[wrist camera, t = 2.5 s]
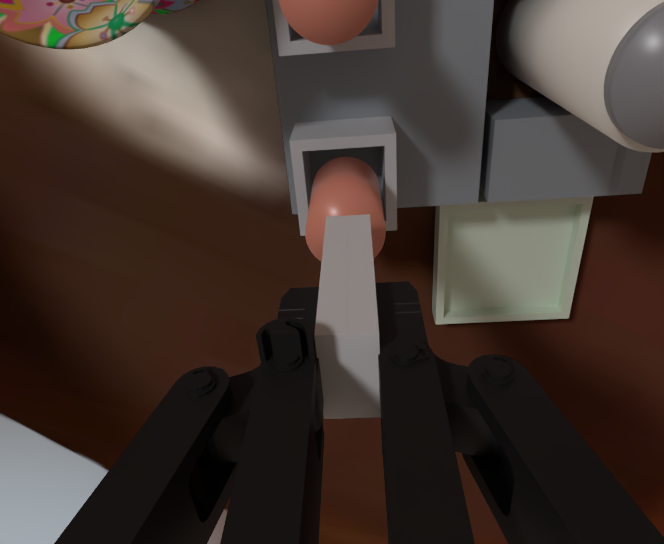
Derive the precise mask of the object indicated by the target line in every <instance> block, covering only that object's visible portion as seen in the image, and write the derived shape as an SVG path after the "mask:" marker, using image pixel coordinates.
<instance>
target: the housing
mask: <svg viewBox="0 0 664 544" xmlns="http://www.w3.org/2000/svg"><path fill="white" fill-rule="evenodd" d="M265 2H266V9H267V17H268V25H269V33H270V41H271V49H272V57H273V65H274V72H275V80H276V88H277V96H278V104H279V112H280V120H281V128H282V135H283V143H284V151H285V159H286V167H287V175H288V183H289V191H290V198H291V206H292V214H298V217H299V225H300V234H301V236H305V230H306V223H307V217H308V210H309V204H310V198H311V191H312V185H313V180H314V177H315V175H316V173H317V171H318V170H319V169H320V168H321V167H322V166H323V165H324V164H325V163H327V162H328V161H330V160H332V159H335V158H339V157H353V158H357V159H359V160H362V161H363V162H365V163H366V164H368V165H369V166H370V167H371V168H372V169H373V171H374V172H375V174H376V176H377V178H378V182H379V188H380V195H381V202H382V208H383V215H384V222H385V229H386V231H393V230H397V208H407V207H424V206H441V205H457V204H474V203H478V197H479V189H480V191H481V192H482V194H483V196H484V197H485V199H486V201H487V202H488V203H491V202H508V201H524V200H541V199H558V198H575V197H592V196H608V195H625V194H642V190H643V186H644V182H645V178H646V174H647V170H648V166H649V162H650V159H651V155H652V152H641V151H636V150H632V149H629V148H627V147H625V146H622V145H621V144H619V143H617V142H616V141H614V140H613V139H611V138H610V137H608V136H606V135H605V134H603V133H602V132H600V131H599V130H597V129H596V128H594V127H592V126H591V125H589V124H588V123H586V122H585V121H583V120H581V119H580V118H578V117H577V116H575V115H574V114H572V113H570V112H569V111H567V110H566V109H564V108H563V107H561V106H560V105H558V104H556V103H555V102H553V101H552V100H550V99H549V98H547V97H532V98H518V99H504V100H490V101H486V95H487V82H488V69H489V57H490V44H491V31H492V19H493V6H494V0H378V4H377V8H376V10H375V13H374V15H373V17H372V19H371V21H370V22H369V23H368V25H367V26H366V27H365V28H364V30H363V31H362V32H361V33H359V34H358V35H357V36H356V37H354V38H352V39H351V40H349V41H347V42H344V43H341V44H336V45H321V44H317V43H313V42H311V41H309V40H307V39H305V38H303V37H302V36H301V35H299V34H298V33H297V32H296V31H295V30H294V29H293V28H292V27H291V26H290V24H289V23H288V22H287V20H286V18H285V16H284V14H283V12H282V10H281V7H280V4H279V0H265Z"/></svg>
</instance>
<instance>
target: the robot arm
mask: <svg viewBox="0 0 664 544" xmlns="http://www.w3.org/2000/svg"><path fill="white" fill-rule="evenodd" d="M256 339H257V344H258V349H259V354H260V359H261V365H260V366H259V367H257V368H255V369H253V370H252V371H249V372H246V373H243V374H240V375H236V376H232V377H228V374H227V373H226V372H225V371H224V370H223V369H220V368H217V367H200V368H197V369H193V370H191V371H189V372H187V373H186V374H184V375H183V376H182V377H180V378H179V379H178V380H177V381H176V382H175V384H174V385H173V386H172V388H171V389H170V390H169V392H168V393H167V394H166V396H165V397H164V398H163V400H162V401H161V402H160V404H159V405H158V406H157V408H156V409H155V410H154V412H153V413H152V414H151V416H150V417H149V418H148V420H147V421H146V422H145V424H144V425H143V426H142V428H141V429H140V430H139V432H138V433H137V434H136V436H135V437H134V438H133V440H132V441H131V442H130V444H129V445H128V446H127V448H126V449H125V450H124V452H123V453H122V454H121V456H120V457H119V458H118V460H117V461H116V462H115V464H114V465H113V466H112V468H111V469H110V470H109V472H108V473H107V474H106V476H105V477H104V478H103V480H102V481H101V482H100V484H99V485H98V486H97V488H96V489H95V490H94V492H93V493H92V494H91V496H90V497H89V498H88V499H87V501H86V502H85V503H84V505H83V506H82V508H81V509H80V510H79V511H78V513H77V514H76V516H75V517H74V518H73V519H72V521H71V522H70V524H69V525H68V526H67V527H66V529H65V530H64V531H63V533H62V534H61V535H60V537H59V538H58V540H57V541H56V542H55V543H54V544H207V542H208V540H209V538H210V536H211V534H212V532H213V530H214V528H215V526H216V524H217V522H218V520H219V518H220V516H221V514H222V512H223V510H224V508H225V506H226V504H227V502H228V500H229V498H230V496H231V498H230V503H229V507H228V512H227V516H226V521H225V525H224V530H223V534H222V539H221V543H220V544H318V542H319V524H320V505H321V486H322V468H323V449H324V430H323V413H324V419H334V418H368V417H381V431H382V455H383V464H384V480H385V495H386V511H387V527H388V543H389V544H475V543H474V538H473V534H472V529H471V524H470V520H469V515H468V510H467V506H466V501H465V496H464V492H463V487H462V482H461V477H460V473H459V468H458V463H457V459H456V454H455V451H456V452H460V453H462V455H463V458H464V460H465V462H466V464H467V466H468V468H469V470H470V472H471V474H472V476H473V477H474V479H475V481H476V483H477V485H478V487H479V489H480V491H481V493H482V494H483V496H484V498H485V500H486V502H487V504H488V506H489V508H490V510H491V511H492V513H493V515H494V517H495V519H496V521H497V523H498V525H499V527H500V528H501V530H502V532H503V534H504V536H505V538H506V540H507V542H508V544H664V537H663V536H662V535H661V534H660V532H659V531H658V530H657V529H656V528H655V526H654V525H653V524H652V523H651V521H650V520H649V519H648V518H647V516H646V515H645V514H644V513H643V512H642V510H641V509H640V508H639V507H638V505H637V504H636V503H635V502H634V501H633V499H632V498H631V497H630V496H629V494H628V493H627V492H626V491H625V489H624V488H623V487H622V486H621V485H620V483H619V482H618V481H617V480H616V478H615V477H614V476H613V475H612V474H611V472H610V471H609V470H608V469H607V467H606V466H605V465H604V464H603V462H602V461H601V460H600V459H599V458H598V456H597V455H596V454H595V453H594V451H593V450H592V449H591V448H590V447H589V445H588V444H587V443H586V442H585V440H584V439H583V438H582V437H581V435H580V434H579V433H578V432H577V431H576V429H575V428H574V427H573V426H572V424H571V423H570V422H569V421H568V419H567V418H566V417H565V416H564V415H563V413H562V412H561V411H560V410H559V408H558V407H557V406H556V405H555V404H554V402H553V401H552V400H551V399H550V397H549V396H548V395H547V394H546V392H545V391H544V390H543V389H542V388H541V386H540V385H539V384H538V383H537V381H536V380H535V379H534V378H533V377H532V375H531V374H530V373H529V372H528V370H527V369H526V368H525V367H524V366H523V365H522V364H520V363H519V362H518V361H516V360H514V359H512V358H509V357H507V356H502V355H496V354H494V355H484V356H481V357H478V358H476V359H475V360H473V361H472V362H471V363H470V365H469V367H466V366H461V365H456V364H452V363H449V362H446V361H444V360H442V359H440V358H439V357H437V356H436V355H435V354H434V353H433V352H432V350H431V348H429V345H428V341H427V337H426V332H425V327H424V322H423V317H422V313H421V308H420V304H419V298H418V293H417V290H416V289H415V288H414V287H413V286H412V285H411V284H410V283H409V282H388V283H375V274H374V261H373V248H372V236H371V223H370V214H365V215H347V216H329V217H326V224H325V234H324V244H323V254H322V264H321V274H320V284H319V287H307V288H290V289H289V290H288V292H287V293H286V294H285V295H284V296H283V297H282V299H281V304H280V308H279V313H278V319H276V320H273V321H271V322H268V323H266V324H265V325H264V326H263V327H261V328H260V329H259V331H258V333H257V334H256Z"/></svg>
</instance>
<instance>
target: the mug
mask: <svg viewBox="0 0 664 544" xmlns="http://www.w3.org/2000/svg"><path fill="white" fill-rule="evenodd" d="M197 1H198V0H0V33H2V34H4V35H7V36H9V37H11V38H14V39H16V40H19V41H22V42H25V43H28V44H32V45H36V46H41V47H46V48H54V49H81V48H88V47H93V46H98V45H101V44H104V43H107V42H110V41H112V40H114V39H116V38H119V37H121V36H123V35H124V34H126V33H127V32H129V31H130V30H132V29H133V28H135V27H136V26H137V25H138V24H140V23H141V22H142V21H143V20H144V19H145V18H146V17H147V16H148V15H149V14H168V13H173V12H177V11H180V10H183V9H185V8H187V7H189V6H191V5H192V4H194V3H196V2H197Z"/></svg>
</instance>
